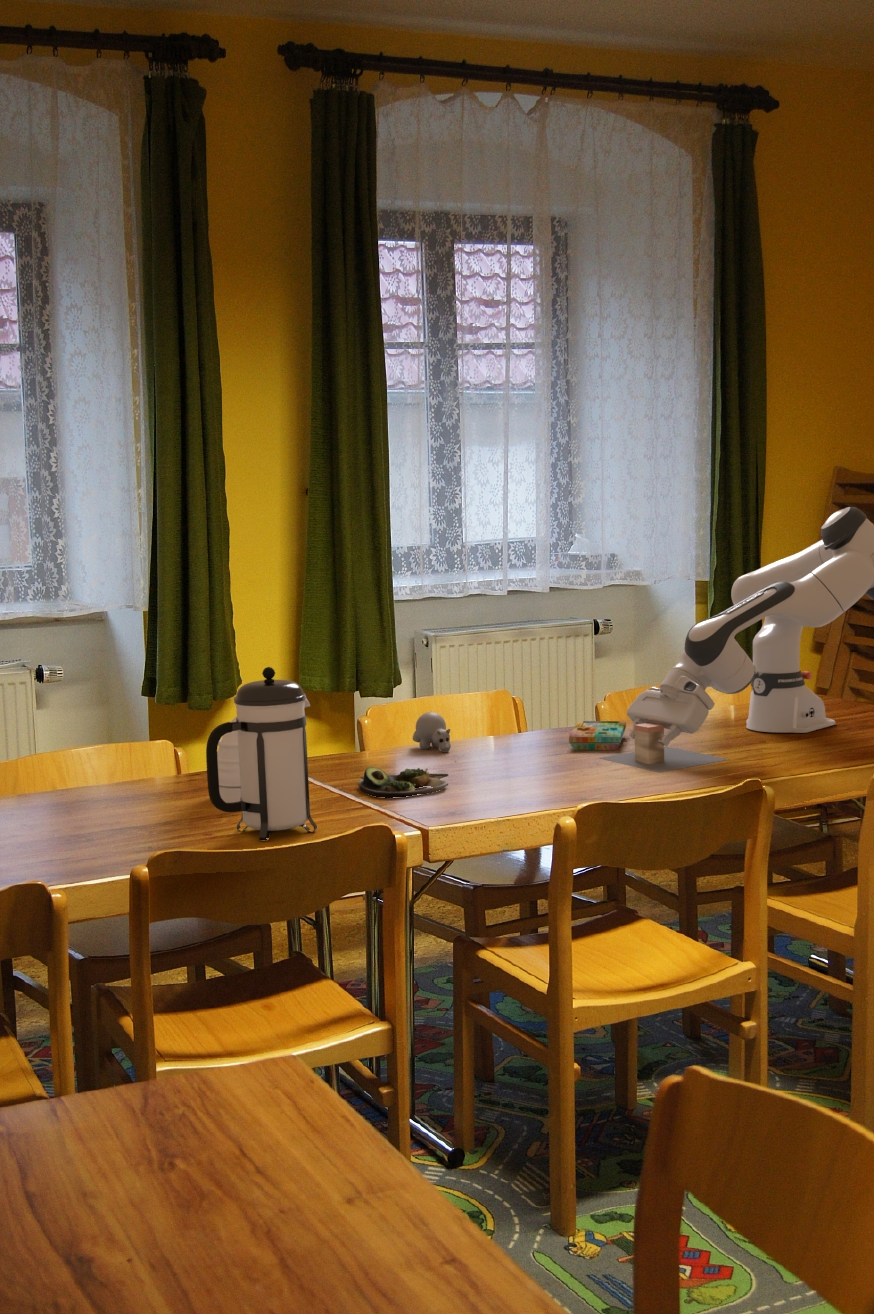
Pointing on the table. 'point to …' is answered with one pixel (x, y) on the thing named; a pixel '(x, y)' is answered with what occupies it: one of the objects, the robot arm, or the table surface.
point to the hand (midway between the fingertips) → (647, 740)
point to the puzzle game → (597, 735)
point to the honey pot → (229, 767)
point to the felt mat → (667, 760)
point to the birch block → (648, 743)
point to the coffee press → (267, 756)
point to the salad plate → (400, 782)
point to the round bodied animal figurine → (432, 732)
